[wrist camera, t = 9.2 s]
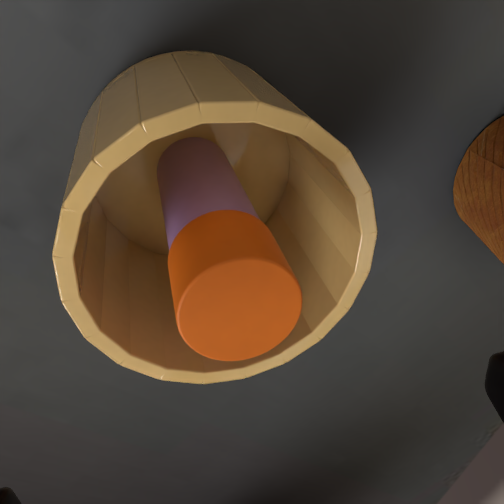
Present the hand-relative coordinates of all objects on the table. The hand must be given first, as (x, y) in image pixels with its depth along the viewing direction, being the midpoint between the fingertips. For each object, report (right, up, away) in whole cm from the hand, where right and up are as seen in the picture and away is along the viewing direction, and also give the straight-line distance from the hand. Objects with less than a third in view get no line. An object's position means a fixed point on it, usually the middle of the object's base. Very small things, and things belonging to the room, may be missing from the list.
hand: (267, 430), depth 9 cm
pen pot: (-3, +7, +10) cm, 13 cm away
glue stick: (-3, +6, +10) cm, 12 cm away
